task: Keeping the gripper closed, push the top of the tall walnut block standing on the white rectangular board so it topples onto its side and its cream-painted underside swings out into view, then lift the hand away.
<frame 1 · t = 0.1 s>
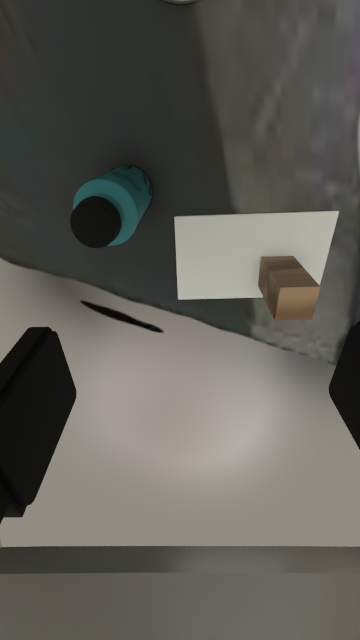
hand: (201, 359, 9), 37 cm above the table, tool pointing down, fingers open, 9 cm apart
white rectangular board: (250, 258, 46), on the table
beverage bottle: (131, 188, 41), on the table
walnut block: (274, 270, 46), resting on white rectangular board
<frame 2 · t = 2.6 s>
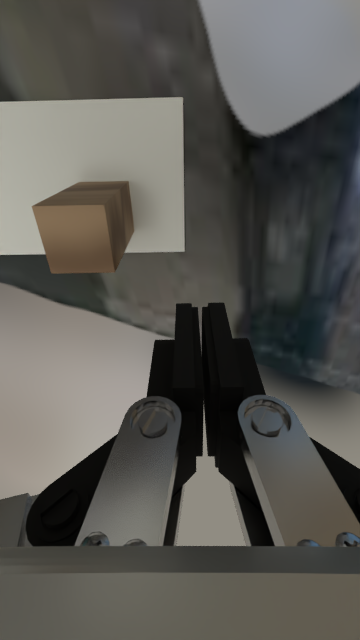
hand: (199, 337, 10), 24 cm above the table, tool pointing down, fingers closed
white rectangular board: (67, 186, 29), on the table
walnut block: (108, 207, 30), resting on white rectangular board
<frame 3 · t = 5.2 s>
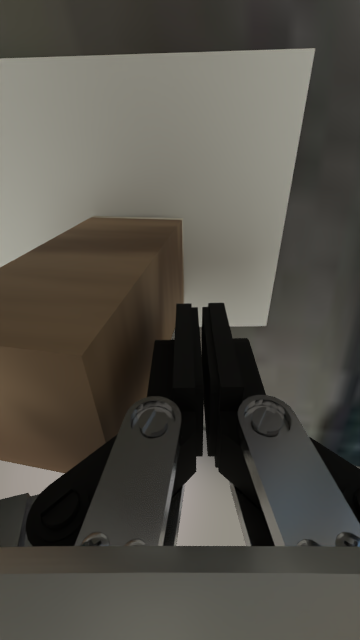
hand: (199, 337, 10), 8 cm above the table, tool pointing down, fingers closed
white rectangular board: (70, 223, 16), on the table
walnut block: (141, 261, 17), point 1 cm above the table, tilted 11°, touching white rectangular board
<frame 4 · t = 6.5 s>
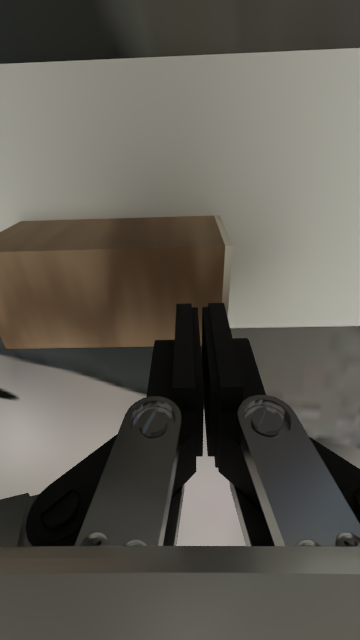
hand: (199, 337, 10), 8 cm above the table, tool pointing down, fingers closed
white rectangular board: (192, 223, 16), on the table
walnut block: (222, 277, 15), point 3 cm above the table, tilted 90°, touching white rectangular board
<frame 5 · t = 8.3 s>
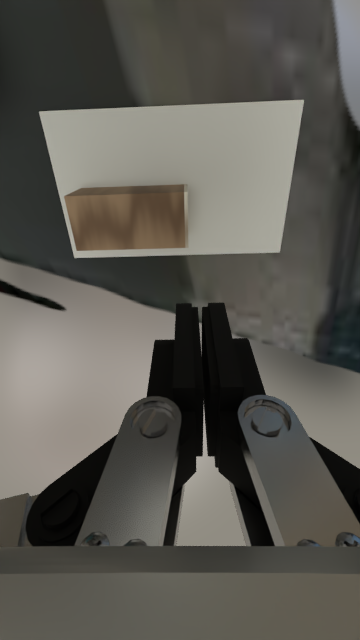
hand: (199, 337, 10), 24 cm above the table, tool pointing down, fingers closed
white rectangular board: (173, 189, 30), on the table
walnut block: (187, 215, 28), point 3 cm above the table, tilted 90°, touching white rectangular board
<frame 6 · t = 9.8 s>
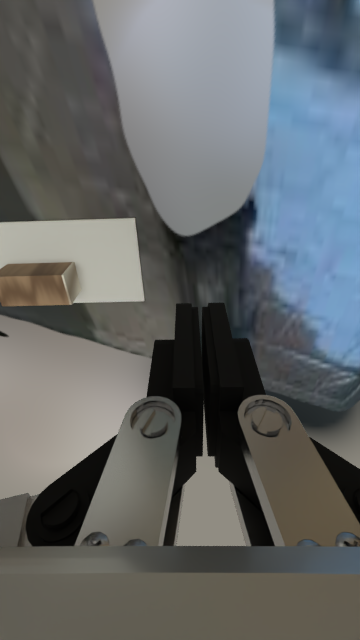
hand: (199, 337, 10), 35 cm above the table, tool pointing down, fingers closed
white rectangular board: (67, 264, 46), on the table
walnut block: (73, 283, 45), point 3 cm above the table, tilted 90°, touching white rectangular board
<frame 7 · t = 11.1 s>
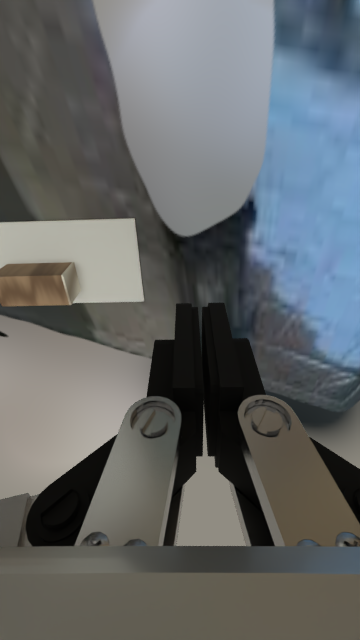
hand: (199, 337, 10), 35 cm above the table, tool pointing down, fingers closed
white rectangular board: (66, 264, 46), on the table
walnut block: (72, 283, 45), point 3 cm above the table, tilted 90°, touching white rectangular board
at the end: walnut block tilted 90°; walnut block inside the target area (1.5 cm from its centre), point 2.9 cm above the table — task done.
